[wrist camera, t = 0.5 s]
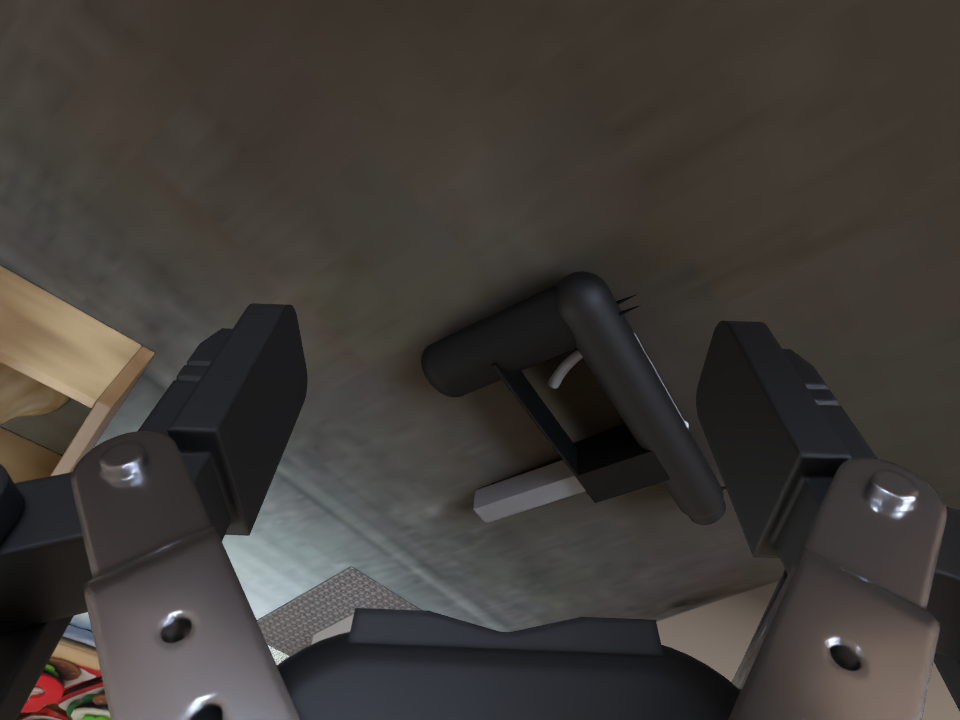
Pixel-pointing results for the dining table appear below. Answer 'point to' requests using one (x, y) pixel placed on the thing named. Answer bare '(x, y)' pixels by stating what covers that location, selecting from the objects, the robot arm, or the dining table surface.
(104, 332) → the crate
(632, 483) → the toy submachine gun
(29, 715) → the toy pizza
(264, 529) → the dining table surface
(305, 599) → the architectural model
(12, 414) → the hand bell
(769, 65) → the dining table surface
